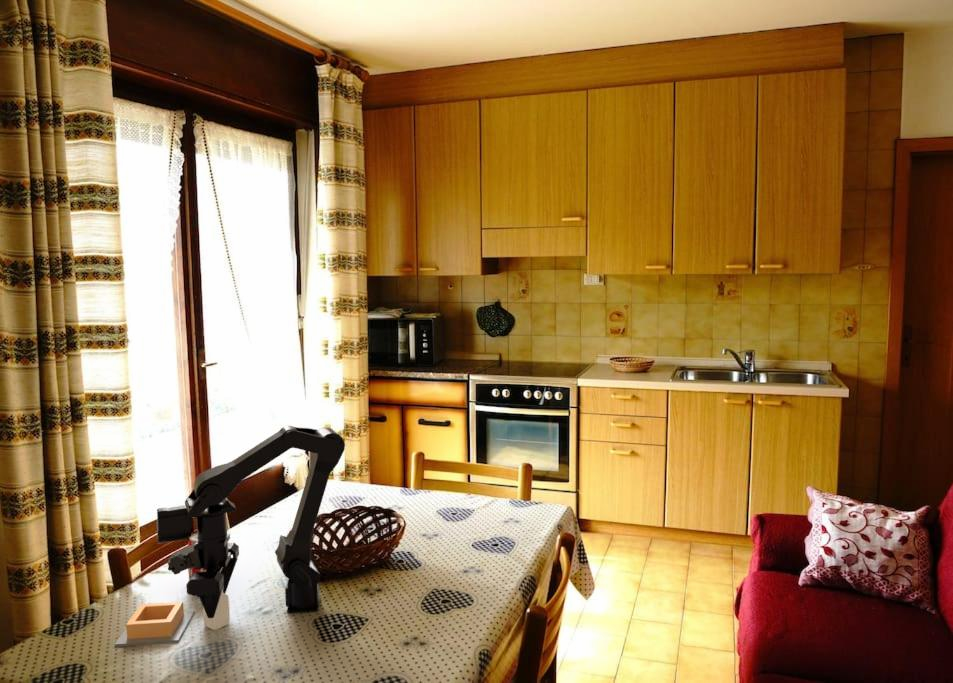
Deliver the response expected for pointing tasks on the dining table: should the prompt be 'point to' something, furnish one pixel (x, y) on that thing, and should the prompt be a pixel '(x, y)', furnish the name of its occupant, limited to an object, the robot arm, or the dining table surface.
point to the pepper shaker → (218, 614)
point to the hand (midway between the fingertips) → (216, 606)
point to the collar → (156, 624)
